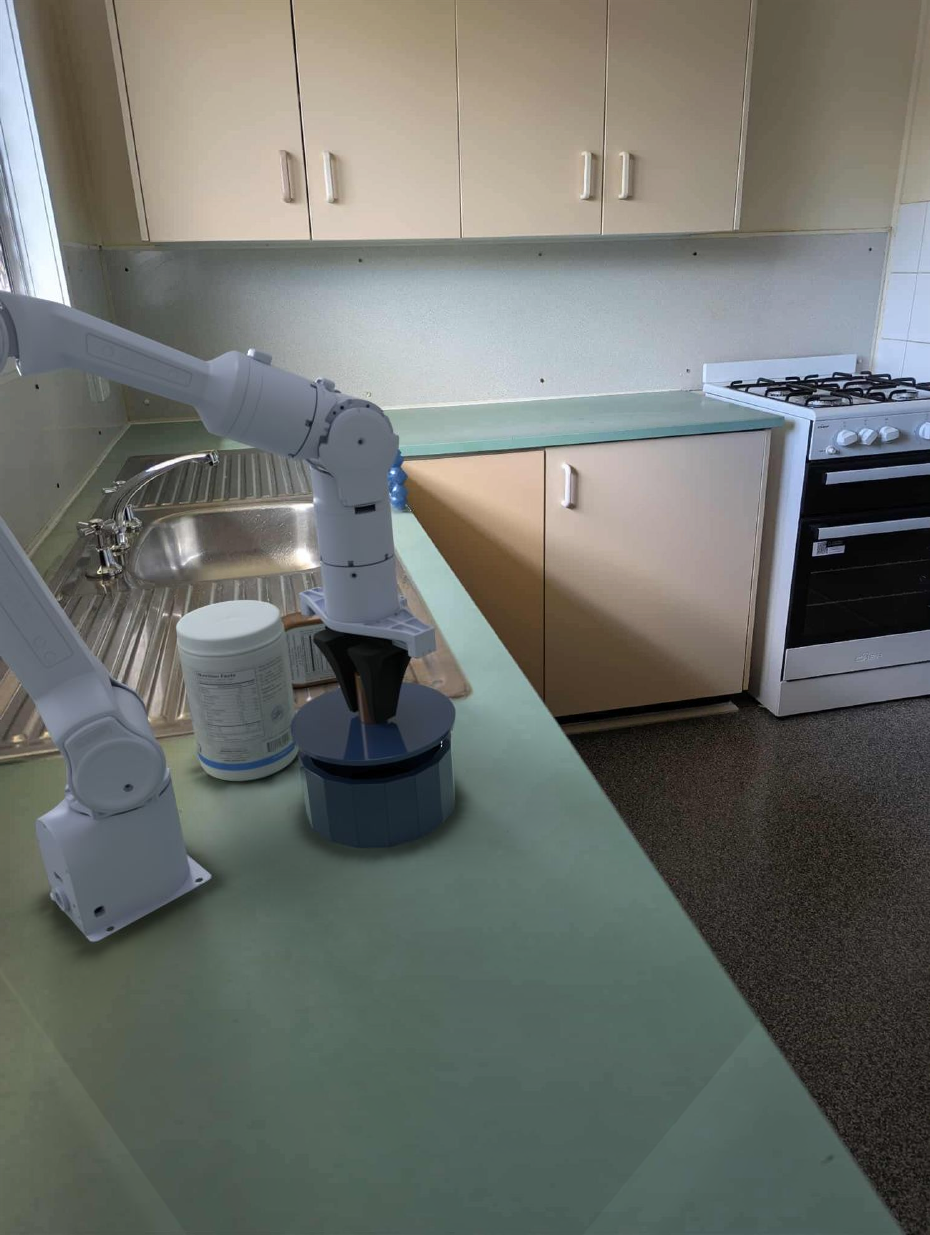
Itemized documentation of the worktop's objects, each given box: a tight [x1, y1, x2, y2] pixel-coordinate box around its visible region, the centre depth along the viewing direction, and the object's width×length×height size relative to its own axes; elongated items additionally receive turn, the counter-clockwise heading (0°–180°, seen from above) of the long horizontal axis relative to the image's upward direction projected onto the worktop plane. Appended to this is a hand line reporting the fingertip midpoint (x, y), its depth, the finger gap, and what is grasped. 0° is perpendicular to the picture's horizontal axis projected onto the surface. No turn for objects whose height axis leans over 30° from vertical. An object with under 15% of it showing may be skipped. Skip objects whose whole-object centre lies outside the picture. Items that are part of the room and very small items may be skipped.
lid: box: [290, 669, 457, 766], centre depth 72 cm, size 14×14×5 cm
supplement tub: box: [175, 599, 300, 782], centre depth 81 cm, size 10×10×15 cm
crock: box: [297, 732, 456, 849], centre depth 74 cm, size 13×13×6 cm
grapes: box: [388, 448, 410, 511], centre depth 168 cm, size 12×7×12 cm, turn 13°
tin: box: [281, 611, 338, 688], centre depth 98 cm, size 15×3×8 cm, turn 109°
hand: (372, 713), depth 72 cm, fingers closed on lid, 2 cm apart
